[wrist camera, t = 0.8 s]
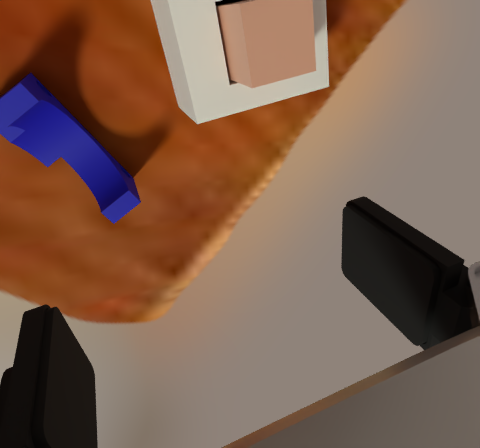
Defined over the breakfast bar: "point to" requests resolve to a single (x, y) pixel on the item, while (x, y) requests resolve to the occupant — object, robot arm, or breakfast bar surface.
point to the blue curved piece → (65, 144)
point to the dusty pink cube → (267, 40)
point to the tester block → (223, 62)
